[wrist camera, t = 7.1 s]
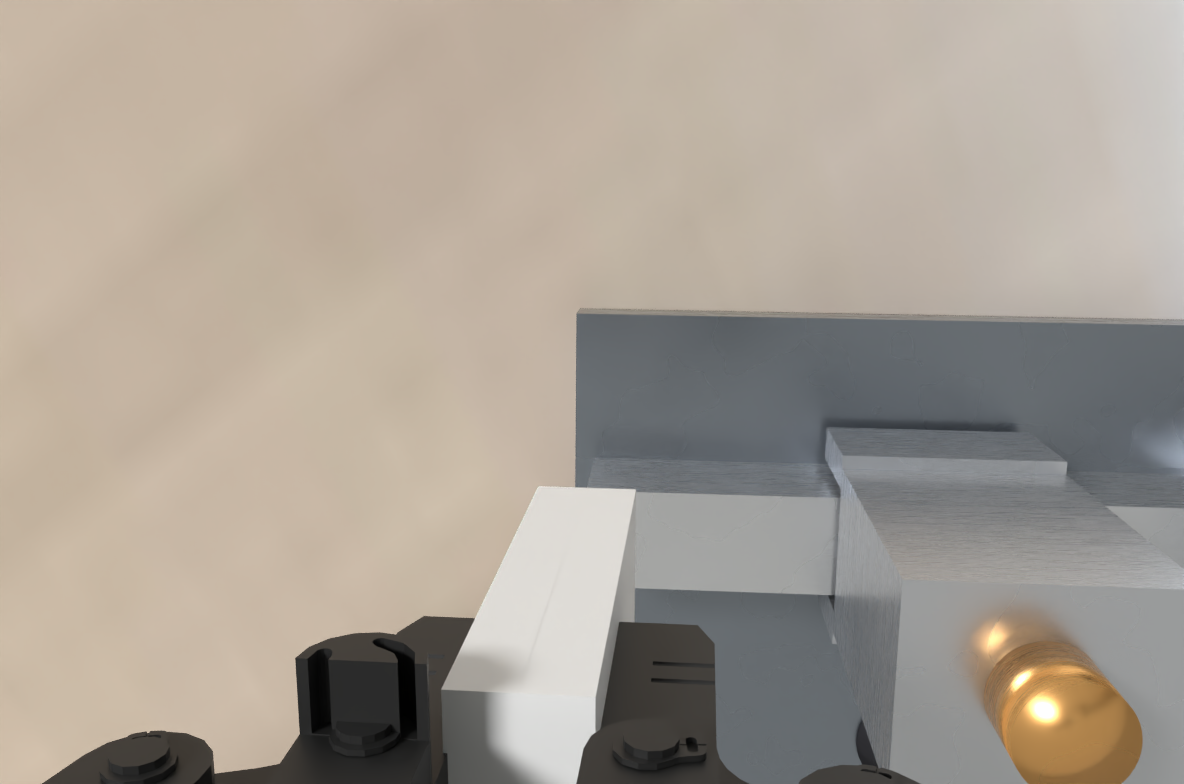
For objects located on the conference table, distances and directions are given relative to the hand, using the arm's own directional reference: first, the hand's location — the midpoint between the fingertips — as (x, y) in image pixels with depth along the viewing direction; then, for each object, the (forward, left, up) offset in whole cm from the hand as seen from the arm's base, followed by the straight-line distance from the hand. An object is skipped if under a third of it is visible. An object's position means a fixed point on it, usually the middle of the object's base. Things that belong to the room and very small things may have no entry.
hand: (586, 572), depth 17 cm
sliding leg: (-8, +5, -12) cm, 15 cm away
